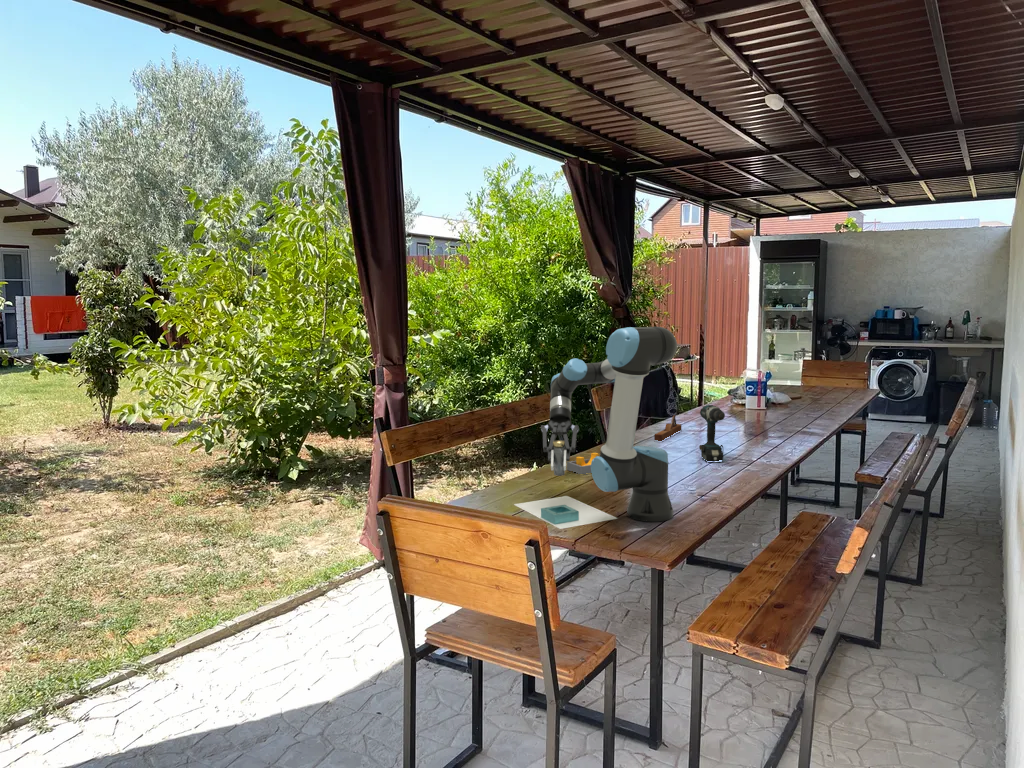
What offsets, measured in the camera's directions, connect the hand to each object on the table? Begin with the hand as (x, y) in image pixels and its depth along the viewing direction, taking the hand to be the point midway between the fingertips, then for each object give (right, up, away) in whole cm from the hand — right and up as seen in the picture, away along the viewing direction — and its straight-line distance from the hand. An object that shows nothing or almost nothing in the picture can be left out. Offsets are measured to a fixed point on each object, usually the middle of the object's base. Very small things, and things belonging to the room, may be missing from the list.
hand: (558, 468), depth 244 cm
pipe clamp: (+17, -9, +66) cm, 69 cm away
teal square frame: (0, -16, -6) cm, 17 cm away
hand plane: (+67, 0, +139) cm, 154 cm away
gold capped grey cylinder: (+1, -3, +4) cm, 5 cm away
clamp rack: (+19, -8, +66) cm, 69 cm away
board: (+2, -16, +3) cm, 16 cm away
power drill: (+74, -6, +77) cm, 107 cm away
